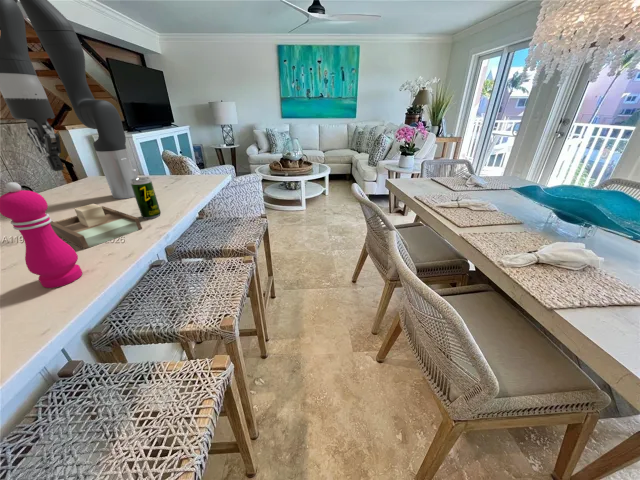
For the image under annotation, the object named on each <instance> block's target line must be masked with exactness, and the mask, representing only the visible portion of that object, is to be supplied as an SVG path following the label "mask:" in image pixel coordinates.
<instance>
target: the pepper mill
mask: <svg viewBox="0 0 640 480" xmlns="http://www.w3.org/2000/svg"><path fill="white" fill-rule="evenodd" d="M5 189H6V191H8V192H6V193H4V194H2V195H1V196H0V214H1V215H2V216H4V217H5V218H8V219H10V220H11V221H10V224H11V225H12V227H13V229H14V230H17V231H19V233H20V234H21V236H22V238H23V241H24V244H25V255H24V259H25V264H26V267H27V270H28V271H29V272H30V273H32V274H34V275H37V276H38V281H39V282H40V284H41V286H42V287H43V288H47V289H54V288H60V287H64V286H66V285H68V284H69V285H70V284H71V283H73V282H74V283H75V281H77V280H79V279H80V278H81V276H82V275H83V270H82V268H81V266H80V265H79V264H78V263H77V262H78V260H79V256H78V253H77V252H76V251H75V249H74V248H73V247H72V246H71V245H70V244H68V243H67V242H65V240H64V239H63V238H61V237H59V236H57V234H56V233H55V232H54V230H53V229H52V227H51V224H50V222H51V221H53V220H52V218H51V217H50V214H49V213H46V212H47V210H48V207H49V206H48V205H49V204H48V202H47V200H46V199H45V198H44V196H42V195H41V194H39V193H38V192H36V191H33V190H24V189H22V186H21V185H20V184H19V183H18V182H14V181H10V182H8V183H6V184H5Z"/></svg>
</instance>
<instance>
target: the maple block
mask: <svg viewBox="0 0 640 480" xmlns="http://www.w3.org/2000/svg"><path fill="white" fill-rule="evenodd" d="M102 206H103V205H98V204H95V203H90V204H87V205H82V206H79V207H76V208H73V209H74V213H76V216H78V218H79V221H80V223H81V224H82V225H85V226H87V227H91V226H94V225H98V224H101V223H104V222H107V219H106V216H105V214H104V211H103V209H102Z"/></svg>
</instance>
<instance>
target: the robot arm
mask: <svg viewBox="0 0 640 480" xmlns="http://www.w3.org/2000/svg"><path fill="white" fill-rule="evenodd" d="M18 2H19V3H20V5H21V7H22V9H23V10H24V12H25V14H26V16H27V18H28V20H29V22H30V24H31V27H32V28H33V30H34V32H35V34H36V36H37V38H38V39H39V41H40V43H41V45H42V47H43V49H44V50H45V53H46V54H47V56H48V58H49V59H50V61H51V63H52V65H53V67H54V69H55V71H56V73H57V75H58V77H59V79H60V82H61V83H62V86H63V87H64V89H65V92H66V95H67V97H68V99H69V102H70V104H71V107H72V109H73V110H74V113H75V115H76V117H77V119H78V120H79V121H80V123H81V124H82V125H84V126H85V127H87V128H89V129H91V130H96V131H97V135H98V137H97V139H96V140H95V141H94V142H93V147H94V150H95V152H96V155H97V158H98V161H99V163H100V167H101V168H102V172H103V174H104V177H105V180H106V182H107V185H108V186H109V187H108V188H109V190H110V193H111V196H112V198H113V199H115V200H116V199H119V200H121V199H129V198H130V199H131V198H135V195H134V192H133V189H132V186H131V179H134V178H138V177H139V175H138V171H137V170H136V168H134V167H133V165H132V161H131V158H130V155H129V152H128V150H127V145H126V141H127V139H126V134H125V130H124V127H123V126H124V125H123V122H122V118H121V115H120V113H119V112H118V111H119V110H118V109H117V108H116V107H115V105H114V104H113V103H111V102H110V101H108V100H105V99H95V97H94V95H93V93H92V91H91V88H90V86H89V84H88V82H87V76H86V75H87V74H86V57H85V52H84V50H83V46H82V44H81V42H80V40H79V38H78V35H77V34H76V32H75V29H74V27H73V25H72V24H71V22H70V21H69V20H68V19H67V18H66V16H65V15H64V14H62V13H61V11H60V10H59V9H58V8H56V7H55V5H53V4H52V3H51V2H50V1H49V0H0V94H1V95H2V98H3V100H4V102H5V104H6V106H7V108H8V110H9V113H10V114H11V116H12V118H14V119H15V120H25V123H26V125H27V127H26V131H27V132H26V135H27V136H28V138H29V139H30V141H31V142H32V143H33V145H35V148H36V149H37V150H38V152H39V153H40V154H42V155H43V157H45V158H46V161H47V163H48V165H49V167H50V169H51V171H54V172H58V171H64V169H65V167H64V165H63V163H62V160H61V159H60V154H62V148H61V139H60V138H61V137H60V135H59V133H55V131H54V128H53V127H52V126H51V125H50V123H49V121H48V120H49V119H50V120H51V119H55V118H56V115H55V113H54V110H53V108H52V106H51V103H50V101H49V98H48V96H47V94H46V90H45V88H44V86H43V84H42V82H41V81H40V79H39V77H38V74H37V72H36V70H35V67H34V65H33V63H32V60H31V58H30V55H29V49H28V42H27V31H26V30H27V29H26V21H25V17H24V14H23V12H22V10H21V7H20V6H19V5H18Z"/></svg>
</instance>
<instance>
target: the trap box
mask: <svg viewBox="0 0 640 480" xmlns="http://www.w3.org/2000/svg"><path fill="white" fill-rule="evenodd" d="M101 206H102V209H103V211H104V214H105V216H106V219H107V222H104V223H101V224H98V225H94V226H91V227H87V226H85V225H82V224H81V223H80V221H79V218H78V216H77V215H74V216H71V217H67V218H65V219H61V220H56V221H53V220H52V221H51V222H50V224H51V227H52V229H53V230H54V232H55V233H56V234H57V236H58V237H59V238H61V239H62V240H64V241H67V242H69V243H71V244H74V245H75V246H76V247H79V248H80V249H83V250H86V249H89V248H92V247H95V246H98V245H101V244H103V243H105V242H108V241H109V242H110V241H112V240H115V239H117V238H119V237H123V236H125V235H129V234H131V233H134V232H137V231H139V230H143V227H142V225H141V221H140V219H139V217H136V216H133V215H130V214H128V213H124V212H121V211H119V210H116V209H113V208H109V207H108V206H107V207H106V206H103V205H101Z"/></svg>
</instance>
